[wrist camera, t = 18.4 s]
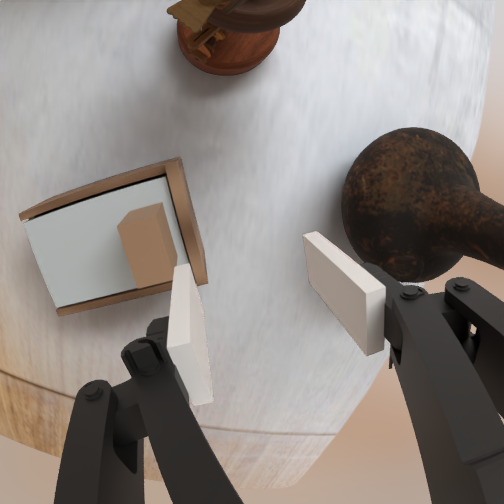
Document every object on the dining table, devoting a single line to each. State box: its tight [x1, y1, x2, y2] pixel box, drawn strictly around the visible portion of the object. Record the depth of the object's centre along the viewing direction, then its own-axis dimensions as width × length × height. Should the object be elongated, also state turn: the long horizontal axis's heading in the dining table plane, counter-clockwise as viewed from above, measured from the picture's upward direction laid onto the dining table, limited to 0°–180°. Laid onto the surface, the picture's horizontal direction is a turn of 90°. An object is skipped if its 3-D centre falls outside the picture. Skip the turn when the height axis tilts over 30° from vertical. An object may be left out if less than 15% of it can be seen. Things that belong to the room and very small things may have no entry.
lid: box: [23, 176, 192, 308], centre depth 25 cm, size 9×15×6 cm, turn 101°
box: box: [19, 157, 208, 316], centre depth 30 cm, size 11×16×9 cm
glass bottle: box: [342, 127, 504, 283], centre depth 26 cm, size 18×18×28 cm
